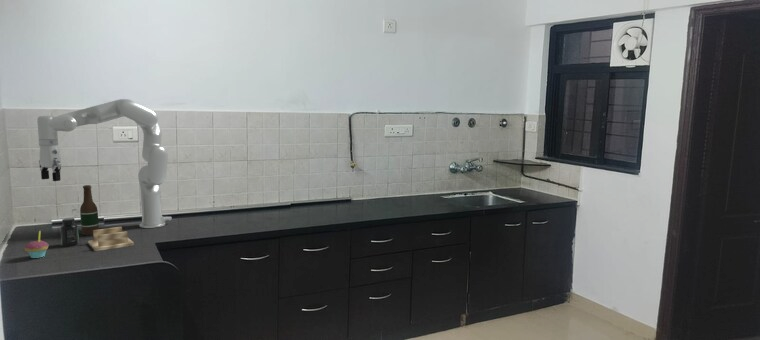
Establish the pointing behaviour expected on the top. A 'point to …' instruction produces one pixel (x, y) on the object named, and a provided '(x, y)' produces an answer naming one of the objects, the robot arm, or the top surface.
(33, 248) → the cupcake
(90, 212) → the beer bottle
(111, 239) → the holder
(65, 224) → the supplement bottle
